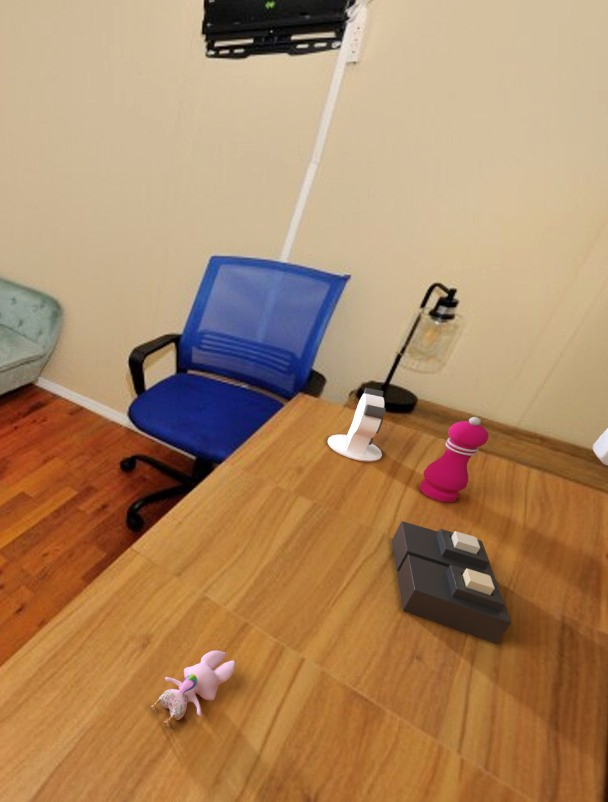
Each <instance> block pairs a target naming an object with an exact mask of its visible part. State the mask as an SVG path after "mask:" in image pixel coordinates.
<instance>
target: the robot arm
mask: <svg viewBox="0 0 608 802" xmlns="http://www.w3.org/2000/svg"><path fill="white" fill-rule="evenodd" d="M592 451H593V453H594V454H595V456H596V458H598V460H599V461H600V462H601V463H602V464H603V465H605V466H607V467H608V428H606V429H605V430H604V431H603V433H601V434H600V435H599V437H598V438H597V440H595V442H594V443H593V444H592Z"/></svg>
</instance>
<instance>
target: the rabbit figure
mask: <svg viewBox="0 0 608 802" xmlns="http://www.w3.org/2000/svg"><path fill="white" fill-rule="evenodd" d="M226 657H227V652H225V651H221V650H211V651H208V652H207V653H205V654H204V655H203V656H202V657H201V659H200V662H199V663H197V664H194V665H191V666H187V667H185V668H184V669H183V677H184V680H183V681H180V680H178V679H176V678H173V677H169V676H165V677H164V680H165V682H170V683H173V684H174V685H176V686H177V687H178V689H176V688H170V689H167V690H165V691H163V693H162V694H161V695H159V697H158V699H157V700H156V702H154V703H153V704H152V705H151V706H150V708H152V711H155V712H157V705H158V704H160V705H161V707H162V708H164V709H167V710H169V715H170V717H169V718H167V719H166V720H164V721H163V723H165V725H166V727H168V728H171V727H170V722H171V720H172V719H173V720H175V721H179V720H181V719H182V718H183V717H184V715H185V714H186V711H187V706H188V703H193V704H194V706H195V708H196V715H197V716H199V717H201V716H202V708H201V704H200V701H199V699H198V698H197V697H198V696H200V697H201V698H202V699H203V700H206V701H214V700H215V699H216V695H217V691H218V687H219V686H220V684H223V683H225V682H227V681H228V680H229V679H231V677H232V675H233V673H234V672H235V669H236V661H235V660H229V661H226V662H223V663H222V664H220V663H221V662H222V661H223V660H224V659H225V658H226ZM218 665H219V666H218ZM217 666H218V667H217ZM196 694H197V695H198V696H197V695H196Z"/></svg>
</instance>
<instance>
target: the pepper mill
mask: <svg viewBox="0 0 608 802" xmlns="http://www.w3.org/2000/svg"><path fill="white" fill-rule="evenodd" d="M481 423H482V420H481V418H480V417H477V416H472V417H470V418H469V419H468V420H462V421H457V422H455V423H453V424H452V425H451V426H450V427H449V429H448V431H447V433H448V436H449V437H448V438H447V440H446V442H445V446H446V448H445V450H444V453H443V454H442V455H440V457H439V458H437V459H436V460H434V461H432V462H430V464H428V465H427V466H426V468H425V469H424V470H423V473H422V475H423V477H424V479H422V480H421V482H420V485H419V490H420V492H421V493H422V494H423V495H425V496H427V497H428V498H431V499H432V500H435V501H438V502H442V503H453V502H455V501H456V500H457V498H458V497H459V492H461V491H463V490H465V489H466V487H467V486H468V483H469V472H468V464H469V461H470V459H471V458H472V456H475V455H477V454H478V451H479V449H480V448H479V447H482V446H484V445H485V444H487V442H488V441H489V432H488V430H487V429H486V428H485V427H484V426H482V425H481Z"/></svg>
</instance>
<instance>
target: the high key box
mask: <svg viewBox="0 0 608 802" xmlns="http://www.w3.org/2000/svg"><path fill="white" fill-rule="evenodd" d="M465 570H466V569H463V568H459V567H456V566H453V565H450V566H449V567H446V566H442V565H439V564H436V563H433V562H430V561H427V560H423V559H420V558H417V557H414V556H411V555H408V556H407V558H406V560H405V561H404V563H403V565H402V567H401V569H400V571H398V573H397V582H398V587H399V593H400V594H399V595H400V600H401V605H402V611H403V612H406V613H409V614H412V615H415V616H417V617H420V618H423V619H426V620H428V621H431V622H434V623H437V624H440V625H442V626H444V627H447V628H450V629H454V630H456V631H459V632H461V633H465V634H466V635H467V634H468V635H470V636H473V637H476V638H478V639H482V640H484V641H486V642H490V643H492V644H495V645H497V644H498V642H499V641H500V640H501V638H502V637H503V635H504V634H505V633H506V632H507V630H508V629H509V627H510V626H511V624H512V620H511V616H510V614H509V612H508V609H507V606H506V602H505V599H504V597H503V594H502V591H501V589H500V586H499V582H498V580H497V578H495V579H494V578H491V579H492V582H493V585H494V588H495V589H494V590H493V592H492V593H491V595H488V594H485V593H482V592H479V591H476V590H473V589H470V588H467V587H465V584H464V580H463V577H462V575H463V573H464V572H465Z"/></svg>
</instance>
